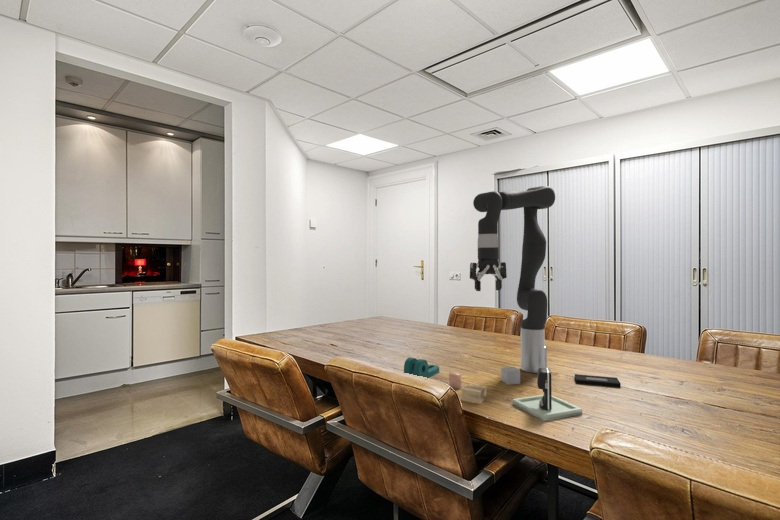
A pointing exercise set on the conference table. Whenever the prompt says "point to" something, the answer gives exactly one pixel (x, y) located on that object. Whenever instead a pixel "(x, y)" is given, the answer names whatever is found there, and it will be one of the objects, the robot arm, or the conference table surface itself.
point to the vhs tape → (597, 380)
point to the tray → (533, 407)
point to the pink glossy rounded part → (455, 380)
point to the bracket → (420, 367)
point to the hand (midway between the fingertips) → (488, 290)
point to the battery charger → (545, 387)
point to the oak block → (474, 393)
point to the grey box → (510, 375)
